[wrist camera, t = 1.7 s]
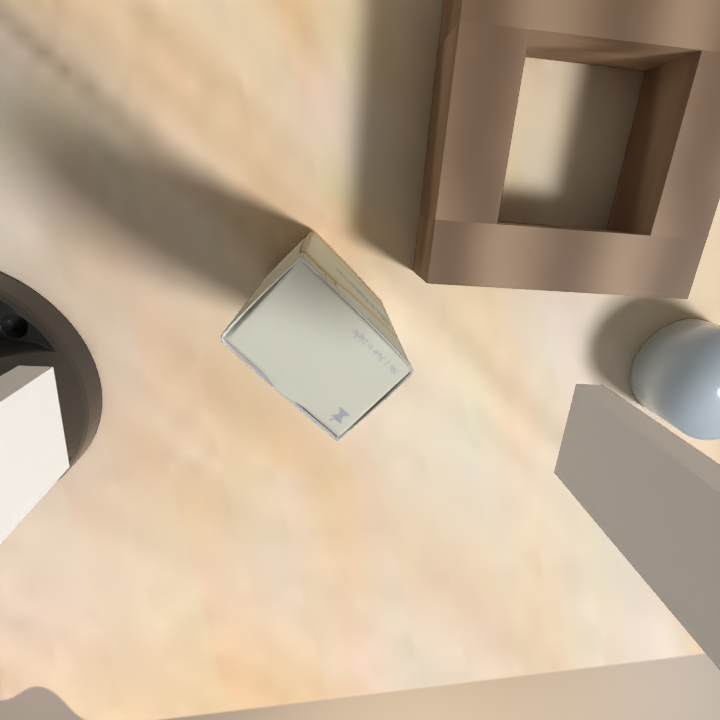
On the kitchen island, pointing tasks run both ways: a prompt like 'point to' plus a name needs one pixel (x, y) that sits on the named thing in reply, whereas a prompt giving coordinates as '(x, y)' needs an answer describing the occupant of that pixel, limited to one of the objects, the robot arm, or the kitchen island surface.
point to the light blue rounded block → (681, 376)
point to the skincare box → (320, 338)
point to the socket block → (641, 163)
